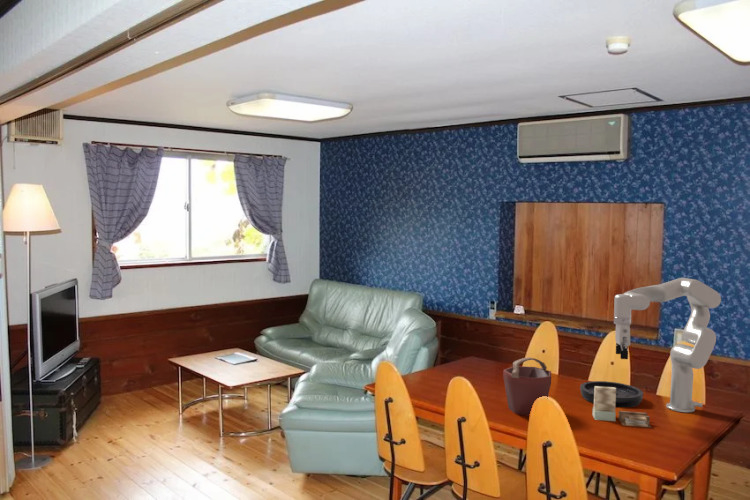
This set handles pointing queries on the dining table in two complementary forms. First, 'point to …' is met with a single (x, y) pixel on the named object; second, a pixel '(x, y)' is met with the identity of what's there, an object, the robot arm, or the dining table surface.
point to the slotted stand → (604, 415)
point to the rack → (626, 415)
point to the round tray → (624, 393)
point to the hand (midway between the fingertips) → (621, 356)
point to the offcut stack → (636, 421)
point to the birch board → (604, 399)
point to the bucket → (525, 385)
